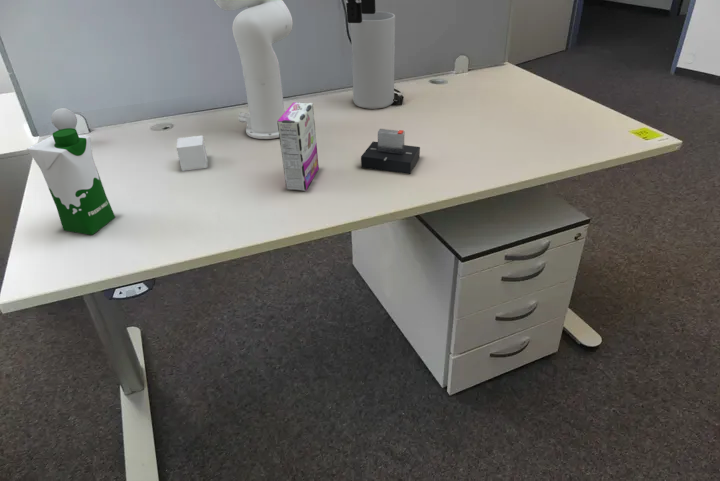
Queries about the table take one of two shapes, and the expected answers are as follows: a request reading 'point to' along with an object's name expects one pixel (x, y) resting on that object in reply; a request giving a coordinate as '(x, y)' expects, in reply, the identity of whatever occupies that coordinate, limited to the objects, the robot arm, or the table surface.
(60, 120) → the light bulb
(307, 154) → the candy bar box
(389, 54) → the cylinder vase
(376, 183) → the table surface
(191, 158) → the white cube
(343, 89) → the table surface
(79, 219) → the milk carton
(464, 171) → the table surface
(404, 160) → the panel
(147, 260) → the table surface
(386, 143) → the tap handle
